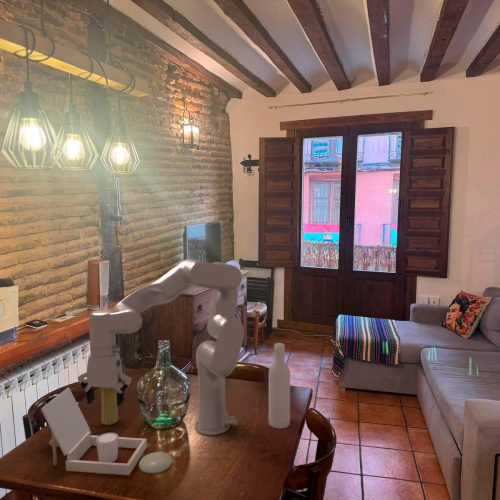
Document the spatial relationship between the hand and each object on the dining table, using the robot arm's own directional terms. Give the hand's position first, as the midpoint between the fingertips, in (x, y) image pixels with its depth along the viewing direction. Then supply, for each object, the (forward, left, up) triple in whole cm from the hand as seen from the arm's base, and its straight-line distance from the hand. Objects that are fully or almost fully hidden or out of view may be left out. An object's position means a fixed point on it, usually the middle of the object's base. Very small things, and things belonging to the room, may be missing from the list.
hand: (105, 403), depth 137 cm
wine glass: (+21, -8, -19) cm, 29 cm away
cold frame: (+3, 0, -18) cm, 19 cm away
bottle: (-53, -28, -19) cm, 63 cm away
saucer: (-16, +1, -18) cm, 25 cm away
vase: (+10, -23, -19) cm, 31 cm away
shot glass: (0, 0, -19) cm, 19 cm away
